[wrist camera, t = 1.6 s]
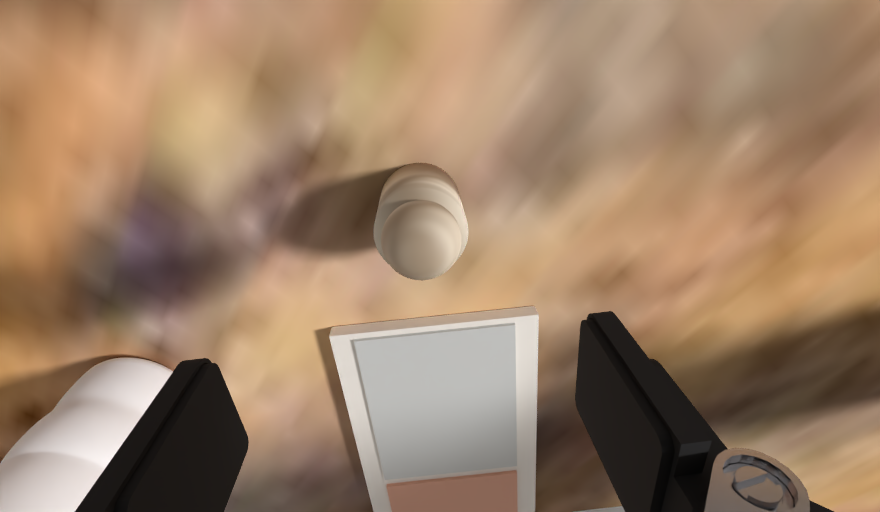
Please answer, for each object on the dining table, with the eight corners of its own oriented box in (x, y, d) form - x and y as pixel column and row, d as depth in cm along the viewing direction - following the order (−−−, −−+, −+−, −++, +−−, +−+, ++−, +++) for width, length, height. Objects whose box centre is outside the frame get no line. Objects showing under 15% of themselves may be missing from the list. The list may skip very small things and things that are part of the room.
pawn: (456, 158, 23) (472, 202, 17) (461, 233, 25) (477, 297, 19) (374, 167, 23) (359, 213, 17) (386, 241, 25) (376, 308, 19)
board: (534, 305, 27) (539, 316, 26) (531, 554, 40) (534, 569, 39) (332, 326, 27) (328, 338, 26) (391, 569, 40) (391, 585, 38)
